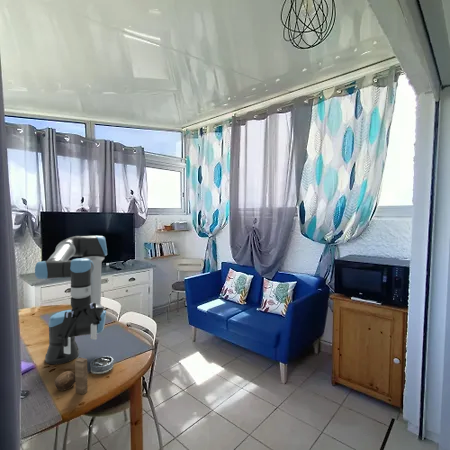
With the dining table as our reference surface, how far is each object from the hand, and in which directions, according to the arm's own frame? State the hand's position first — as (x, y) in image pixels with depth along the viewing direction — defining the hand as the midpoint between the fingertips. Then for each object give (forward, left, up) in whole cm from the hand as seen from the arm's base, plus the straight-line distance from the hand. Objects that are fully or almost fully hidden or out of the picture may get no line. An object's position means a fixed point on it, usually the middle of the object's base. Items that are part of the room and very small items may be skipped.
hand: (81, 345), depth 117 cm
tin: (-5, +17, -20) cm, 27 cm away
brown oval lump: (-9, 0, -20) cm, 22 cm away
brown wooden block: (0, 0, -20) cm, 20 cm away
